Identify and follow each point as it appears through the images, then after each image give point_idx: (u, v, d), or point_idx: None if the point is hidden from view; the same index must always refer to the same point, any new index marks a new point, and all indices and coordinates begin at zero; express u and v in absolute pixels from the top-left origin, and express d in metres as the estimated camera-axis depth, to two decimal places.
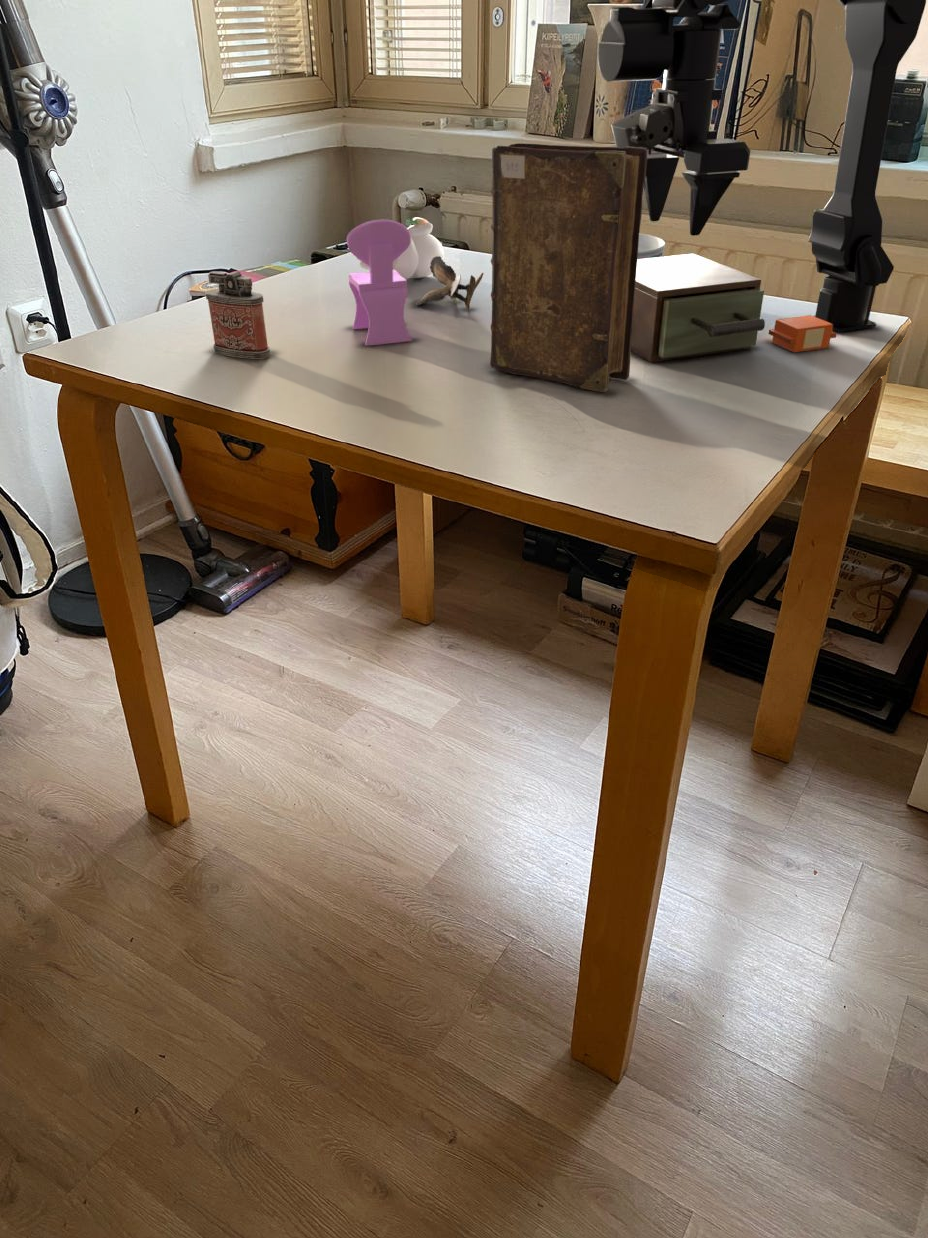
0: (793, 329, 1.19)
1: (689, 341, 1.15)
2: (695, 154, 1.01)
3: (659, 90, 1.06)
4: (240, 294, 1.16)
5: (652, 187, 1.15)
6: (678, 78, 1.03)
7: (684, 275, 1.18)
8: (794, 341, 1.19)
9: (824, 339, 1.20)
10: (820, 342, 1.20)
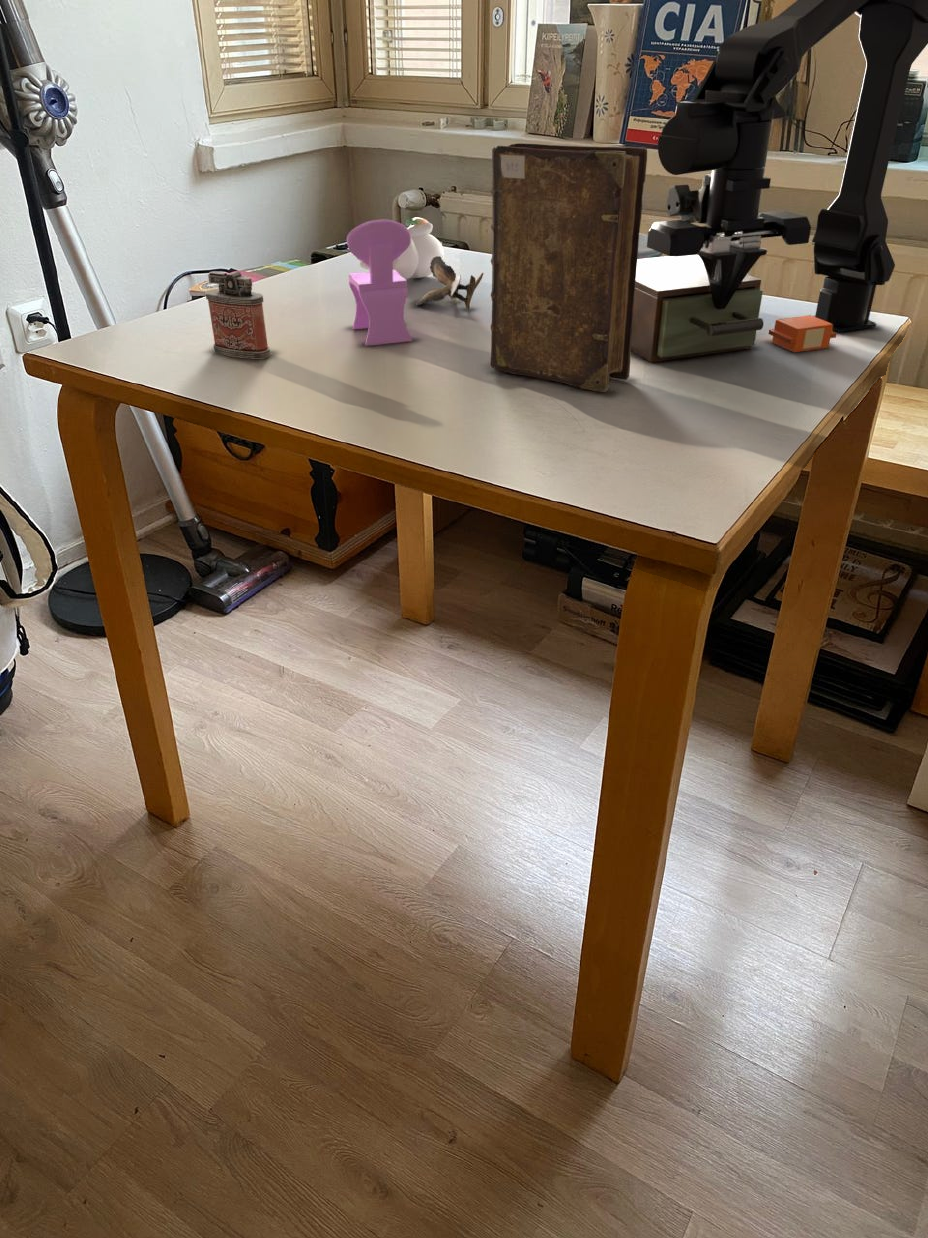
0: (793, 329, 1.19)
1: (688, 340, 1.15)
2: None
3: None
4: (240, 294, 1.16)
5: None
6: None
7: (684, 275, 1.18)
8: (794, 341, 1.19)
9: (824, 339, 1.20)
10: (820, 342, 1.20)
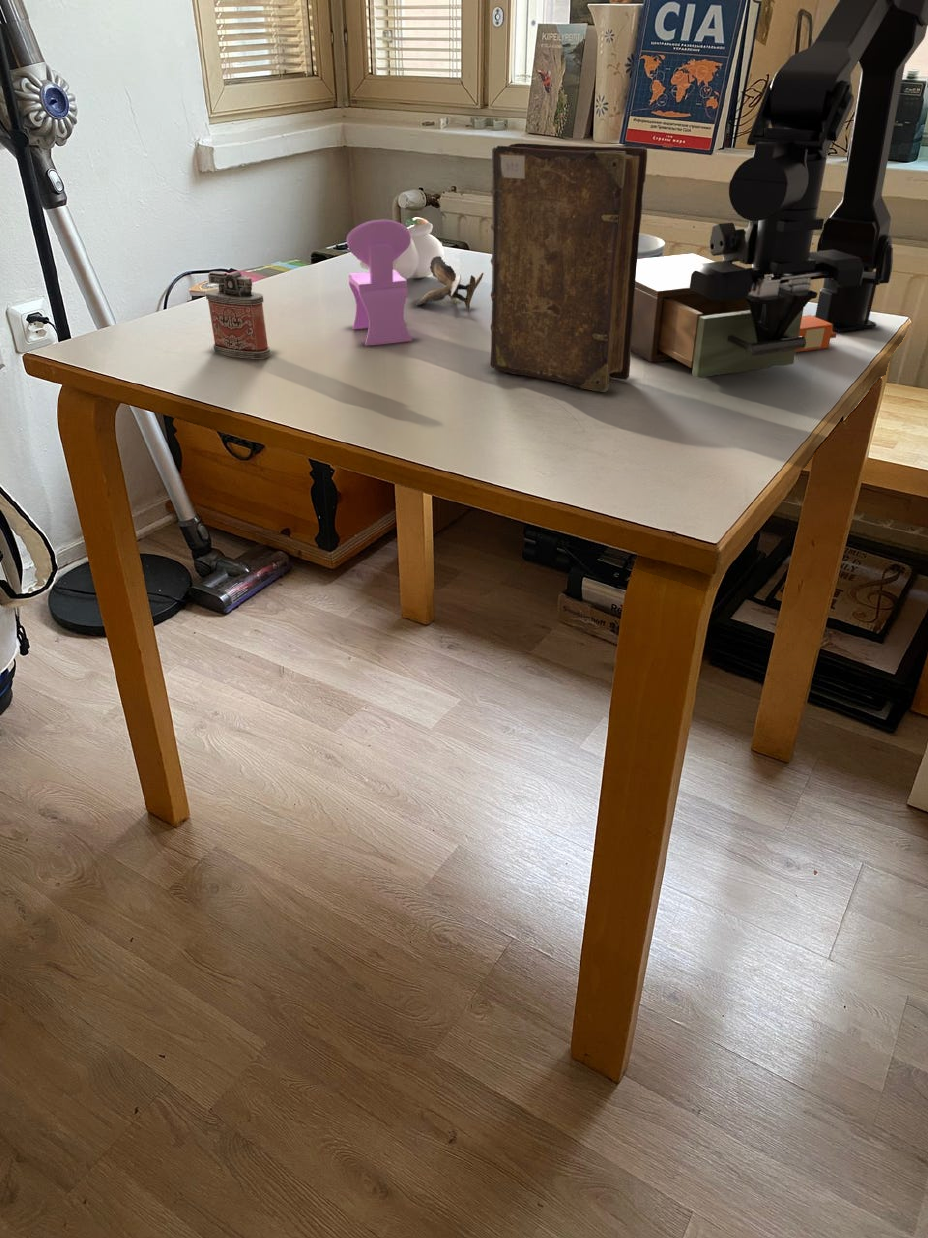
0: None
1: (725, 359, 1.09)
2: None
3: None
4: (240, 294, 1.16)
5: None
6: None
7: (684, 275, 1.18)
8: None
9: (824, 339, 1.20)
10: (820, 342, 1.20)
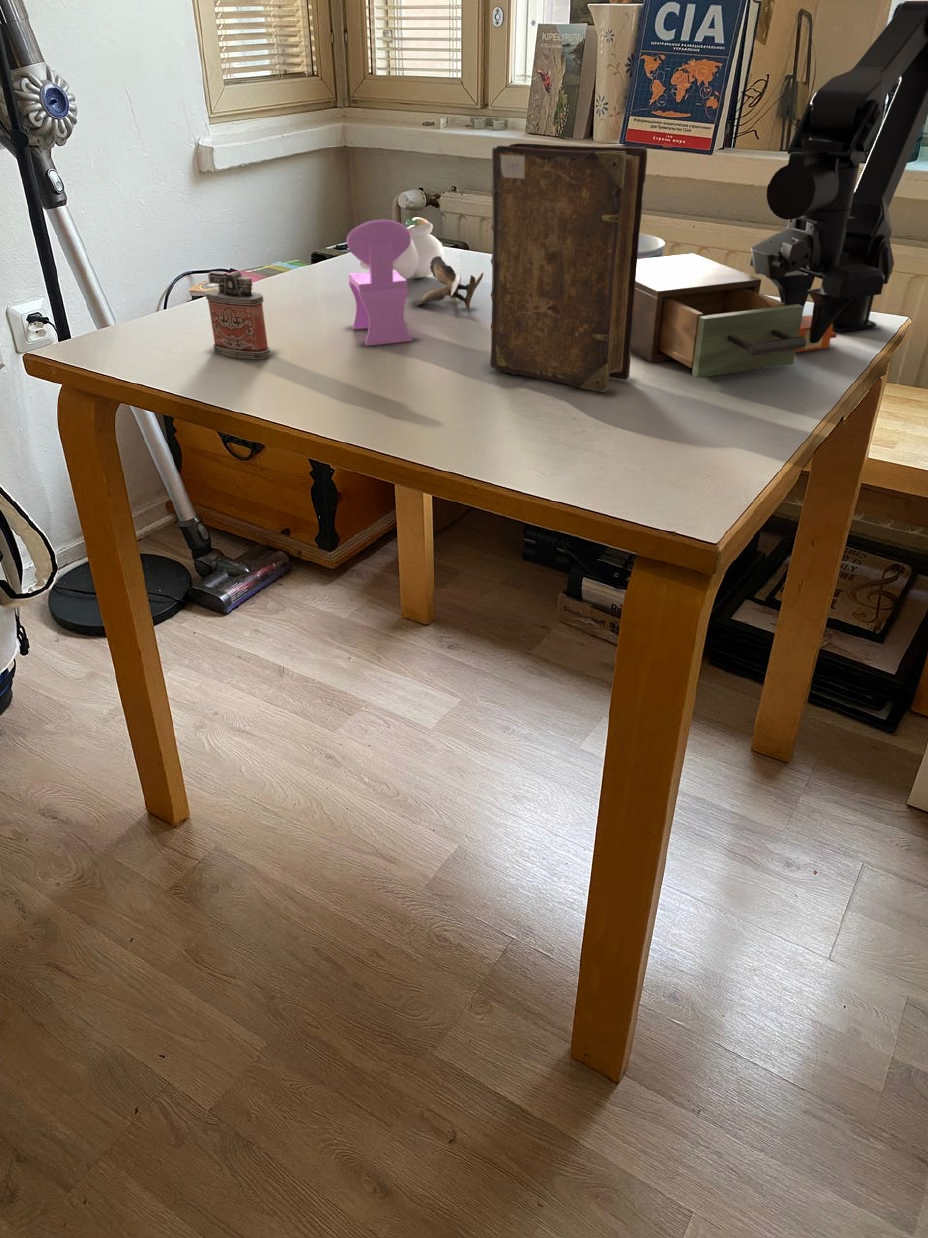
0: None
1: (725, 359, 1.09)
2: (835, 281, 1.10)
3: None
4: (240, 294, 1.16)
5: (790, 302, 1.21)
6: None
7: (684, 275, 1.18)
8: None
9: (824, 339, 1.20)
10: (820, 342, 1.20)
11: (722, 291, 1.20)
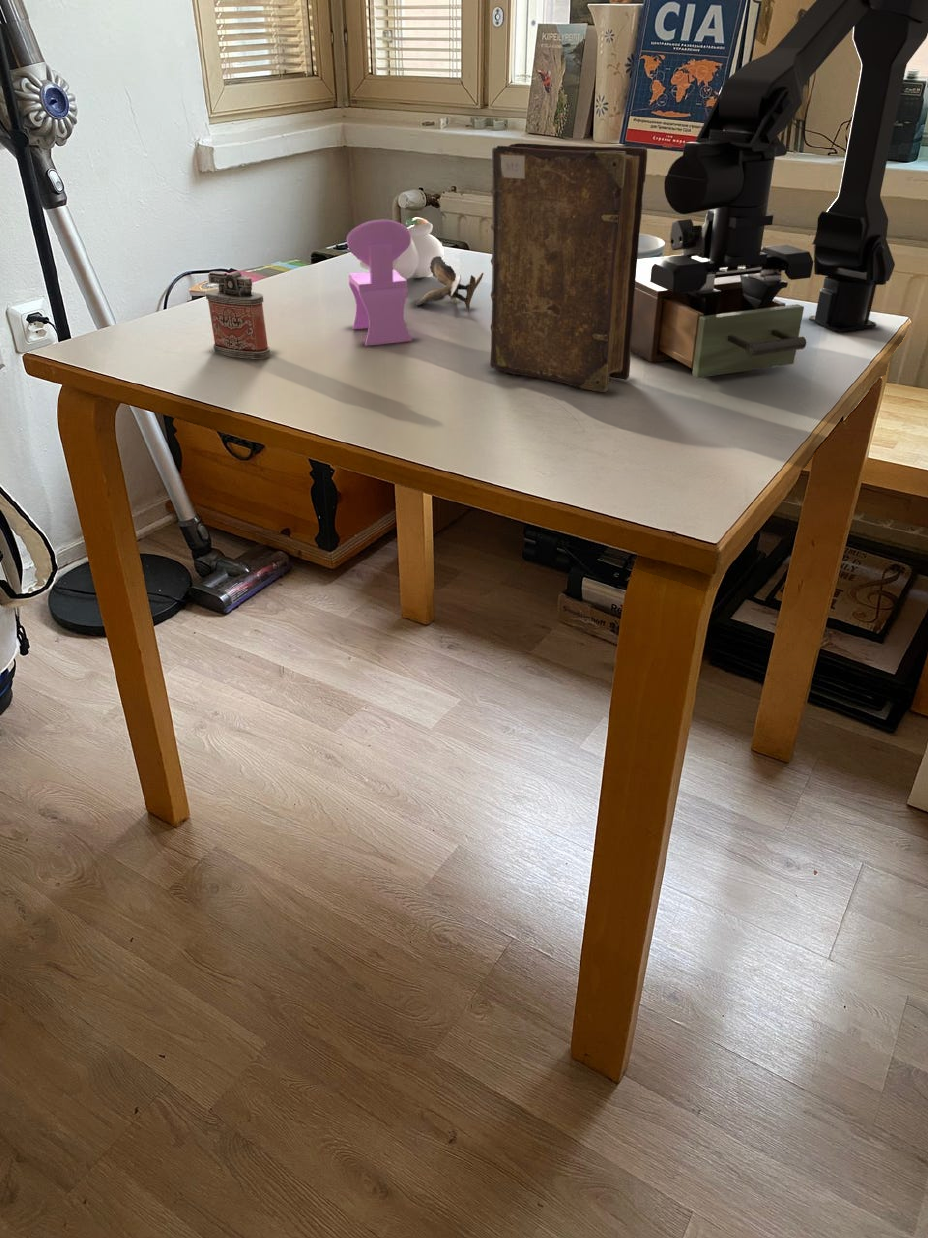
0: None
1: (725, 360, 1.09)
2: None
3: None
4: (240, 294, 1.16)
5: (743, 305, 1.14)
6: None
7: None
8: None
9: None
10: None
11: (722, 291, 1.20)
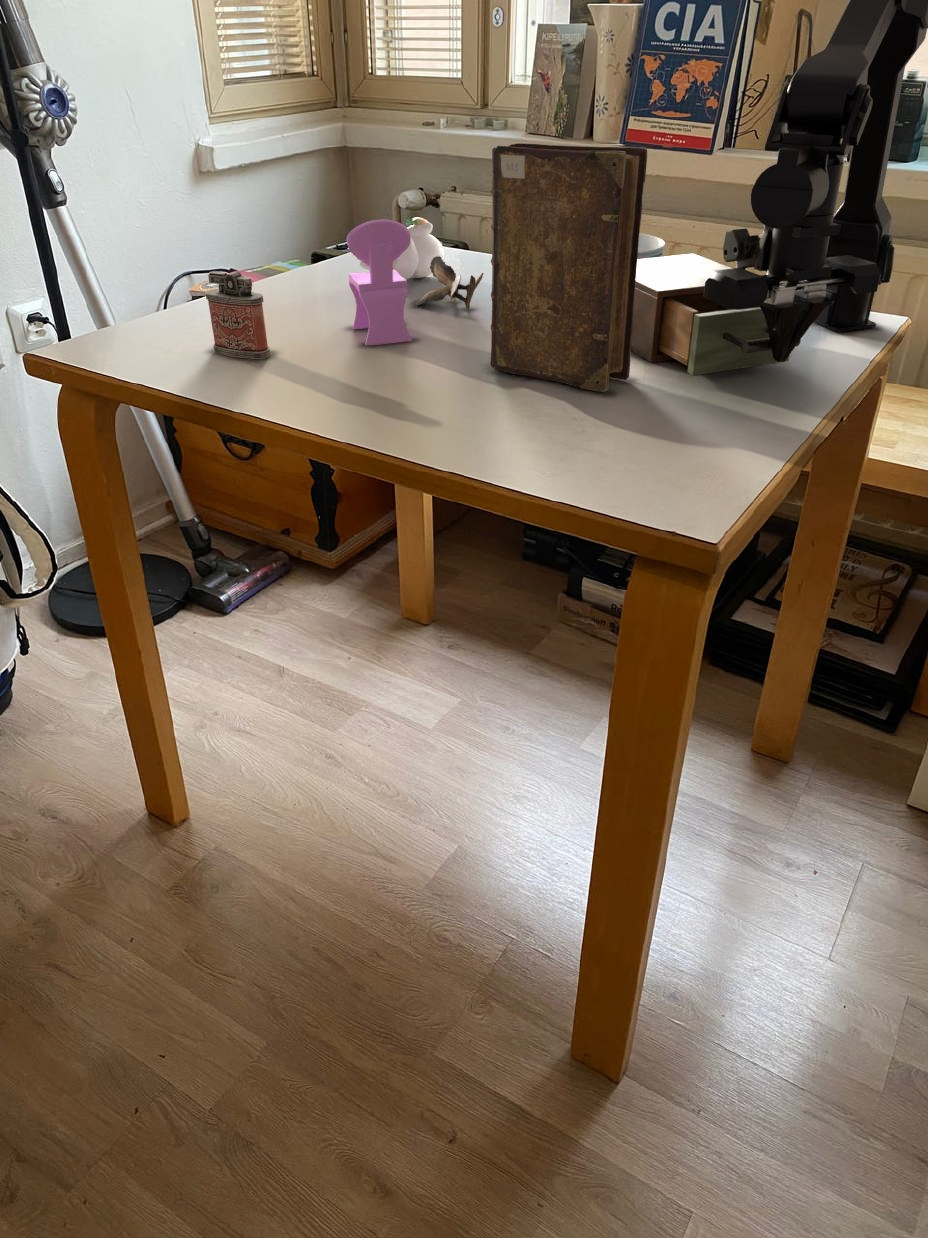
0: None
1: (720, 357, 1.10)
2: None
3: None
4: (240, 294, 1.16)
5: None
6: None
7: (684, 275, 1.18)
8: None
9: None
10: None
11: None
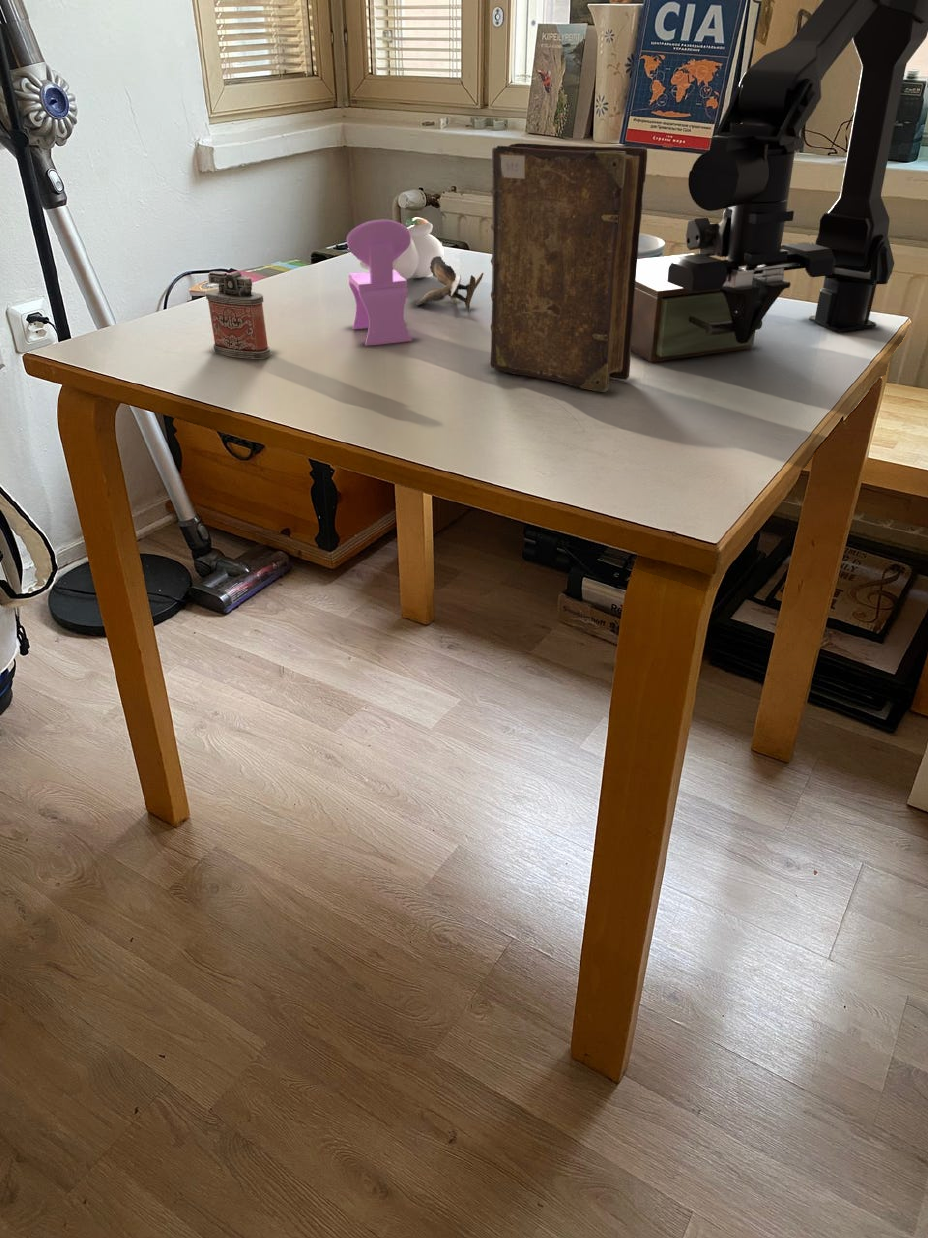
0: None
1: (687, 340, 1.16)
2: None
3: None
4: (240, 294, 1.16)
5: None
6: None
7: None
8: None
9: None
10: None
11: None
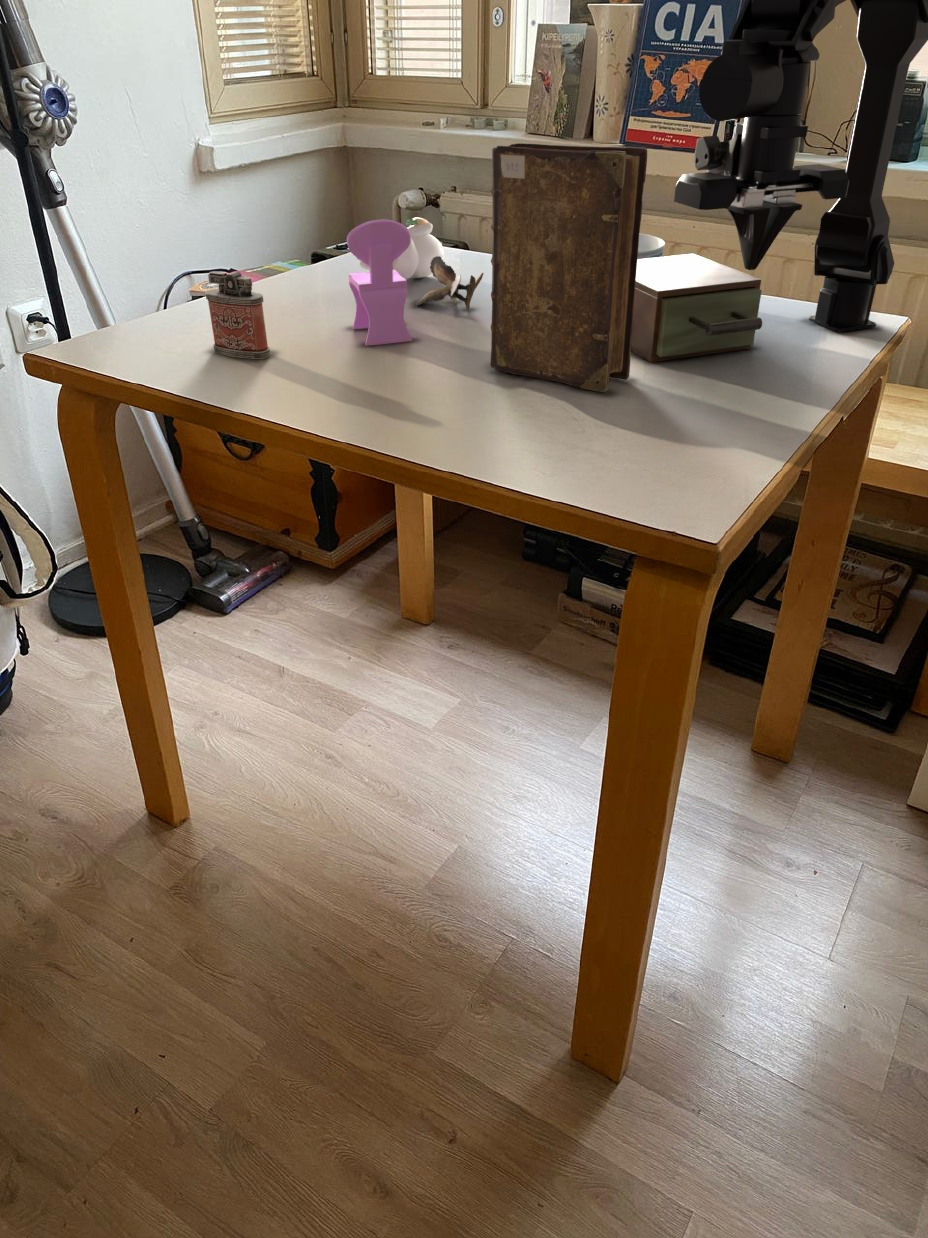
0: None
1: (687, 340, 1.16)
2: None
3: None
4: (240, 294, 1.16)
5: None
6: None
7: (684, 275, 1.18)
8: None
9: None
10: None
11: None
